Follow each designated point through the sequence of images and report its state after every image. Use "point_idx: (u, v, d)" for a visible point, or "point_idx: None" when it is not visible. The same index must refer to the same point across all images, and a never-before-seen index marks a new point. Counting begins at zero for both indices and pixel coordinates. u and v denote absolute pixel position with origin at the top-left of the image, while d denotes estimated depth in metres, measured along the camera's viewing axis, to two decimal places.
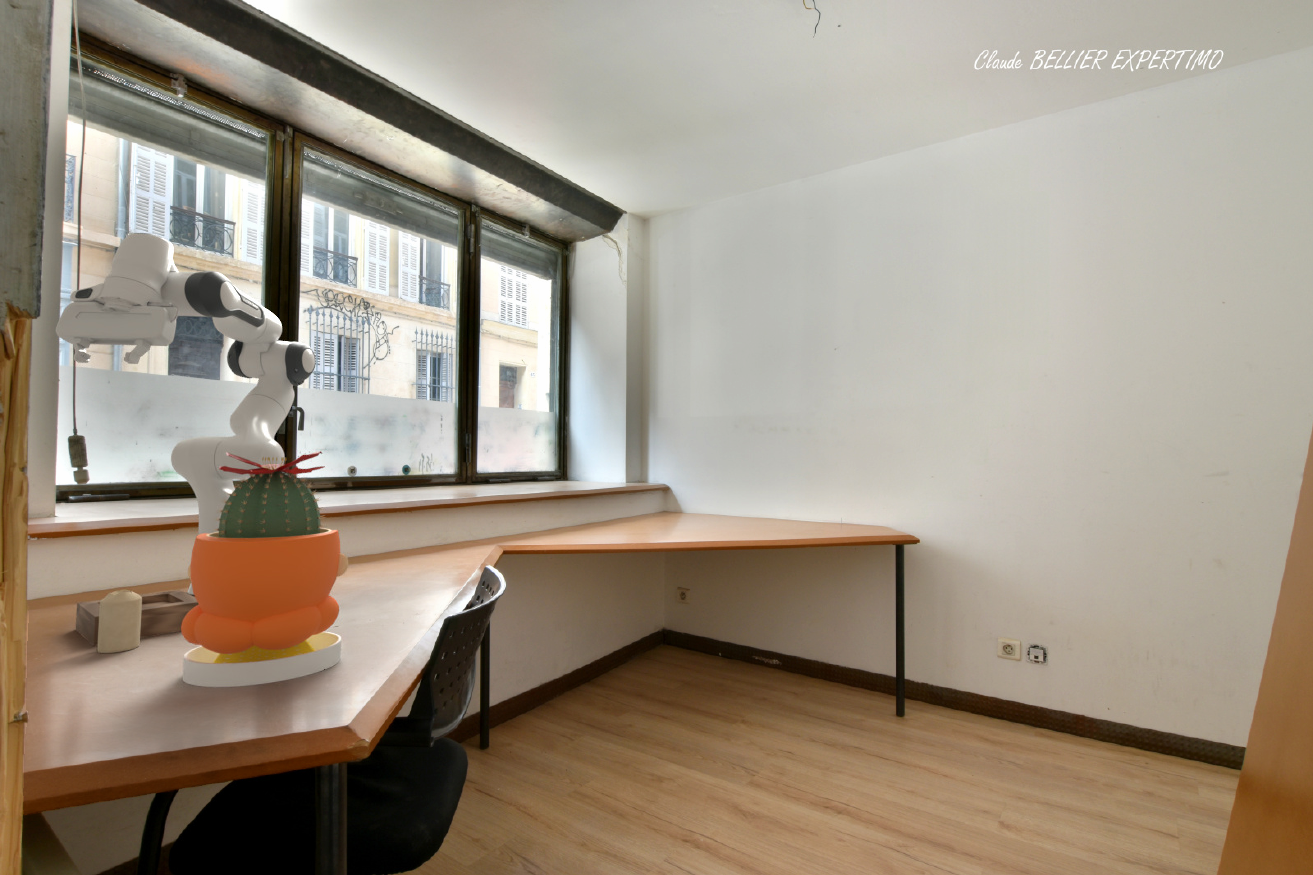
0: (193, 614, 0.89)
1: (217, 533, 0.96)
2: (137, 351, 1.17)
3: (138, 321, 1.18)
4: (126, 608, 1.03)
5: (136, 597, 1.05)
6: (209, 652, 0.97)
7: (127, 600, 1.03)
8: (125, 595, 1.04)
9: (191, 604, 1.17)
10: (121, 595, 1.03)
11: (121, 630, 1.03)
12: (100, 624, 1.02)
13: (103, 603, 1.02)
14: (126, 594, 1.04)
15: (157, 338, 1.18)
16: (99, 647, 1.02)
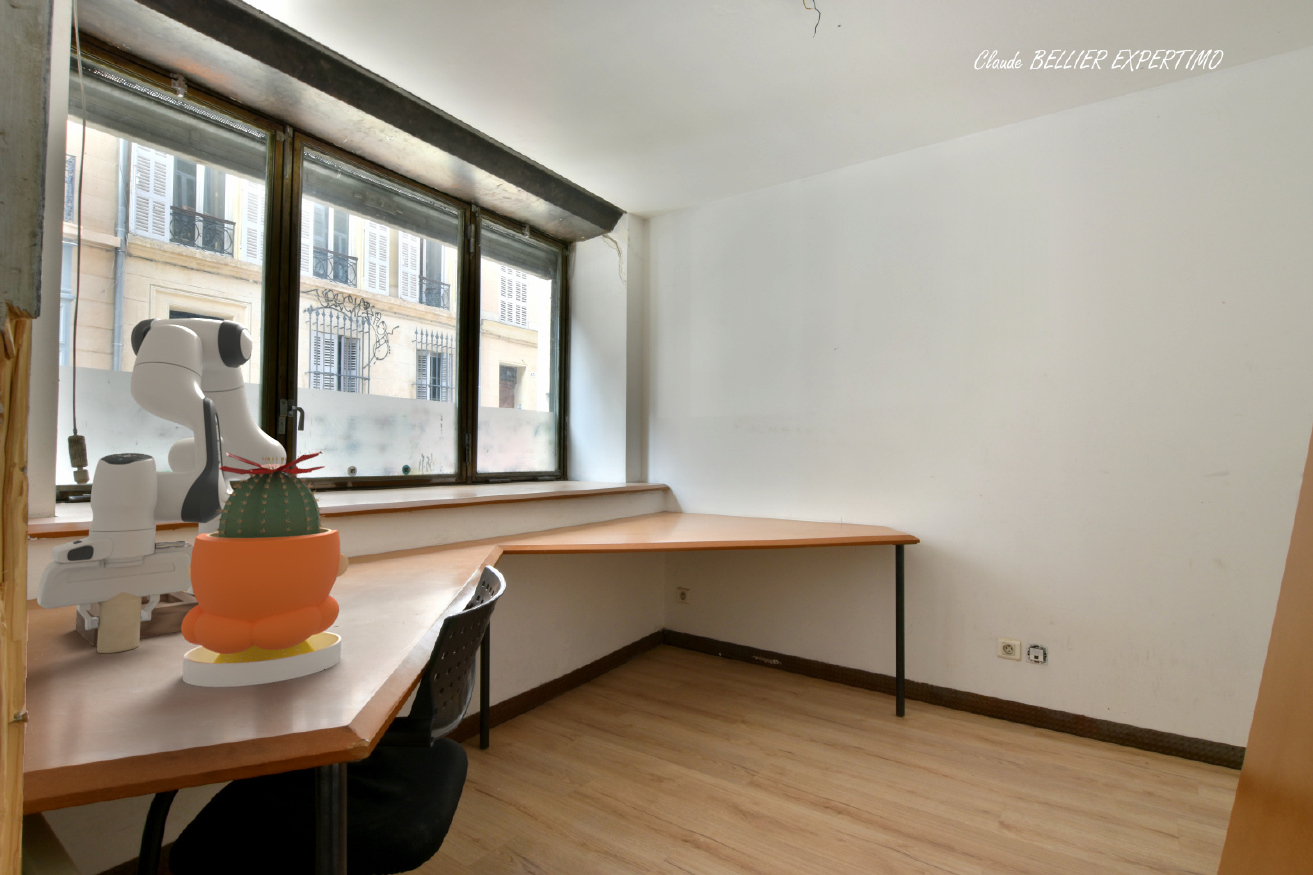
0: (193, 614, 0.89)
1: (217, 533, 0.96)
2: None
3: (160, 574, 1.08)
4: (126, 608, 1.03)
5: (136, 597, 1.05)
6: (209, 652, 0.97)
7: (127, 600, 1.03)
8: (125, 595, 1.04)
9: (191, 604, 1.17)
10: (121, 595, 1.03)
11: (121, 630, 1.03)
12: (100, 624, 1.02)
13: (102, 603, 1.02)
14: (126, 594, 1.04)
15: (187, 589, 1.12)
16: (99, 647, 1.02)
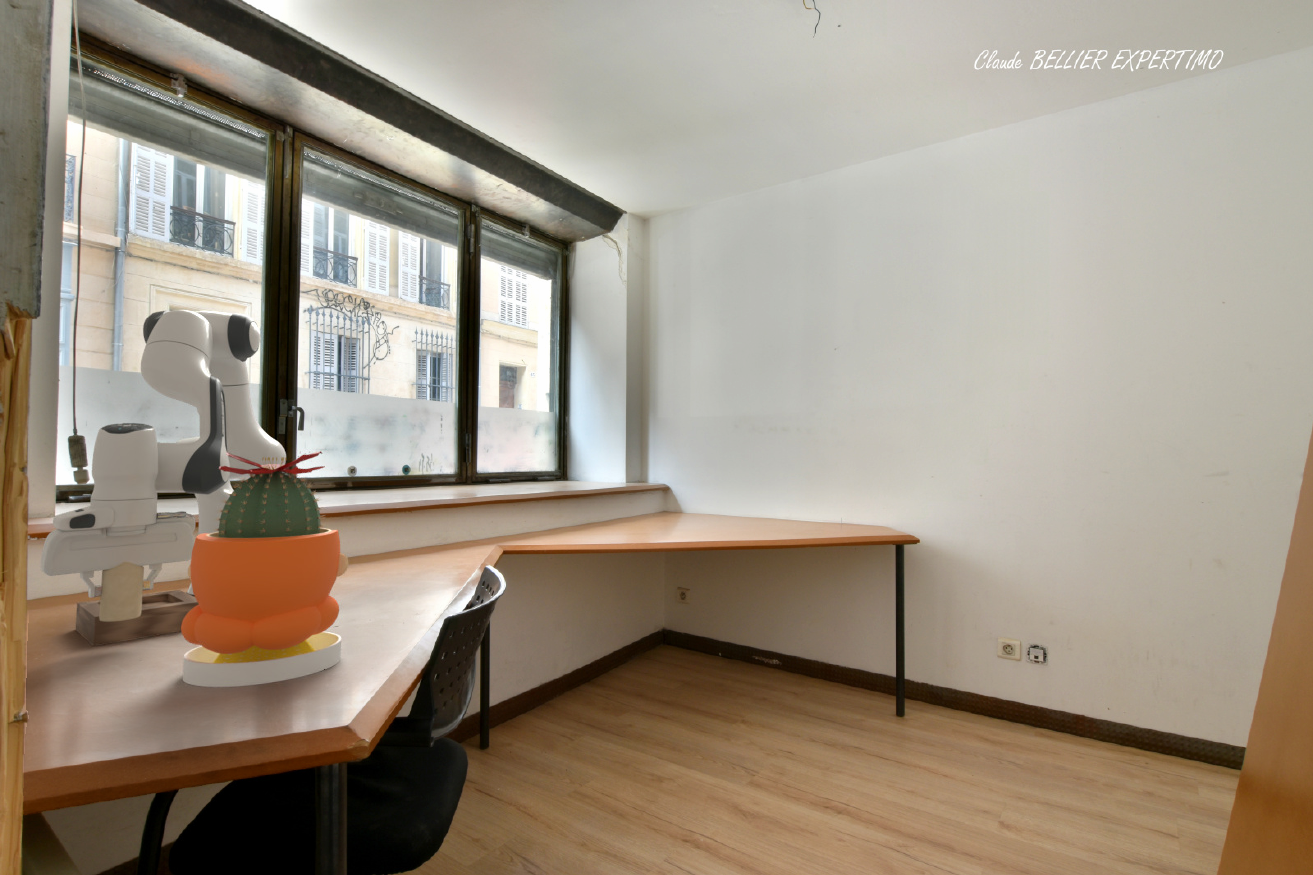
0: (193, 614, 0.89)
1: (217, 533, 0.96)
2: None
3: (162, 544, 1.08)
4: (128, 577, 1.04)
5: (138, 567, 1.06)
6: (209, 652, 0.97)
7: (129, 569, 1.04)
8: (127, 565, 1.04)
9: (191, 604, 1.17)
10: (123, 564, 1.04)
11: (123, 599, 1.03)
12: (102, 593, 1.03)
13: (105, 572, 1.03)
14: (128, 564, 1.05)
15: (189, 559, 1.12)
16: (101, 615, 1.03)
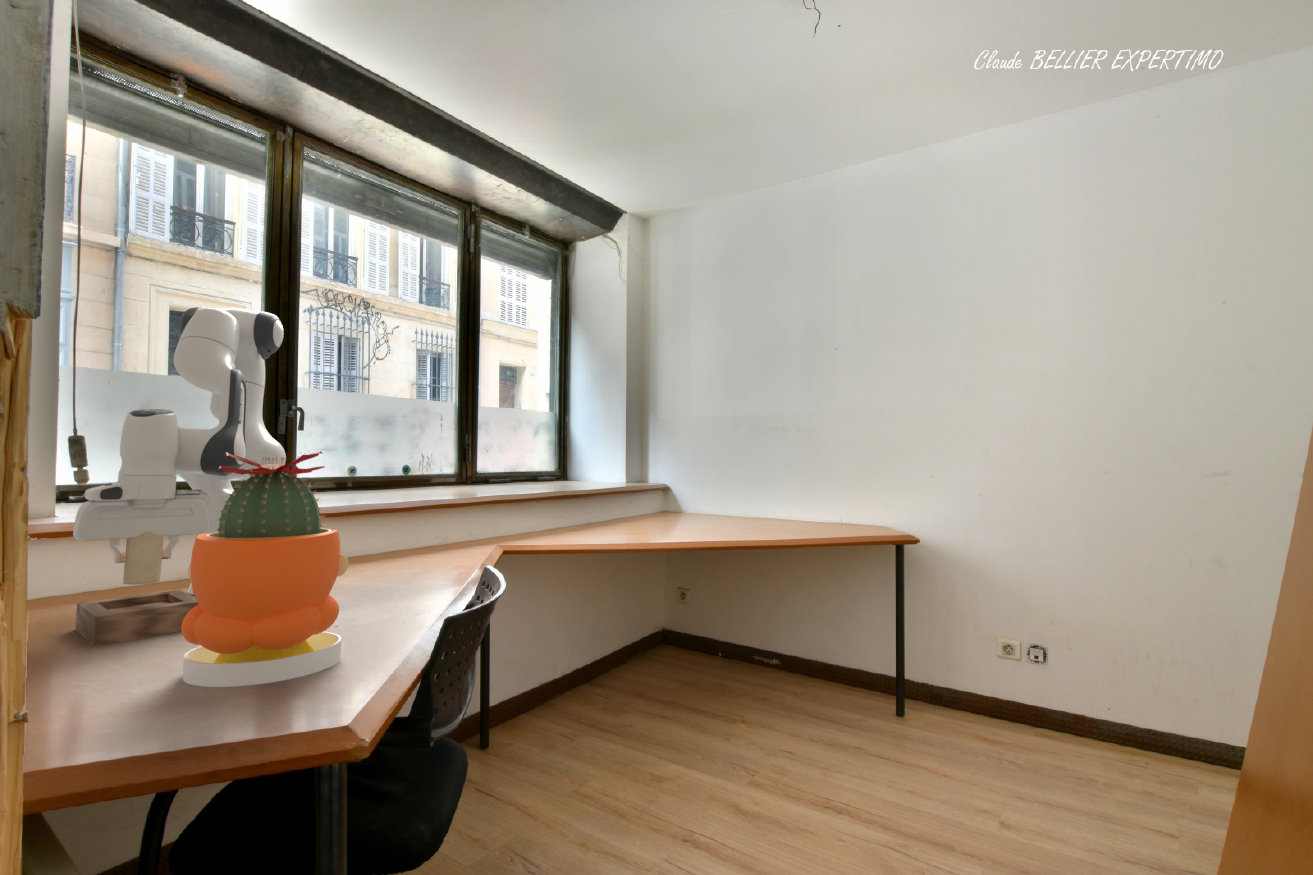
0: (193, 614, 0.89)
1: (217, 533, 0.96)
2: None
3: (179, 517, 1.21)
4: (149, 545, 1.16)
5: (159, 537, 1.18)
6: (209, 652, 0.97)
7: (151, 538, 1.16)
8: (149, 534, 1.16)
9: (191, 604, 1.17)
10: (145, 534, 1.16)
11: (145, 564, 1.15)
12: (126, 559, 1.15)
13: (129, 540, 1.15)
14: (150, 533, 1.17)
15: None
16: (125, 579, 1.14)
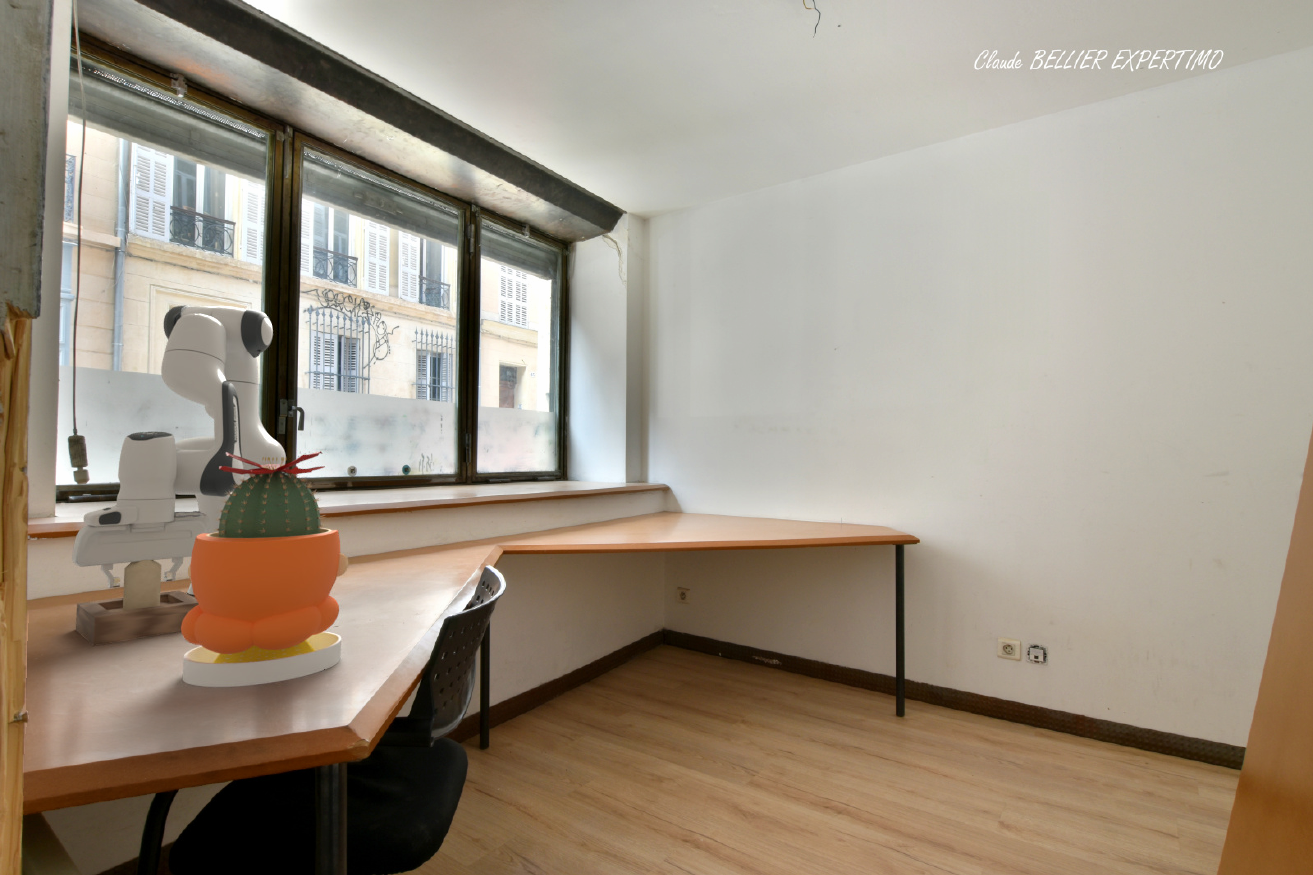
0: (193, 614, 0.89)
1: (217, 533, 0.96)
2: None
3: (179, 540, 1.21)
4: (148, 574, 1.16)
5: (156, 565, 1.18)
6: (209, 652, 0.97)
7: (148, 567, 1.16)
8: (146, 562, 1.16)
9: (191, 605, 1.17)
10: (143, 562, 1.16)
11: (143, 593, 1.15)
12: (125, 588, 1.15)
13: (127, 569, 1.15)
14: (147, 562, 1.16)
15: None
16: (124, 608, 1.14)
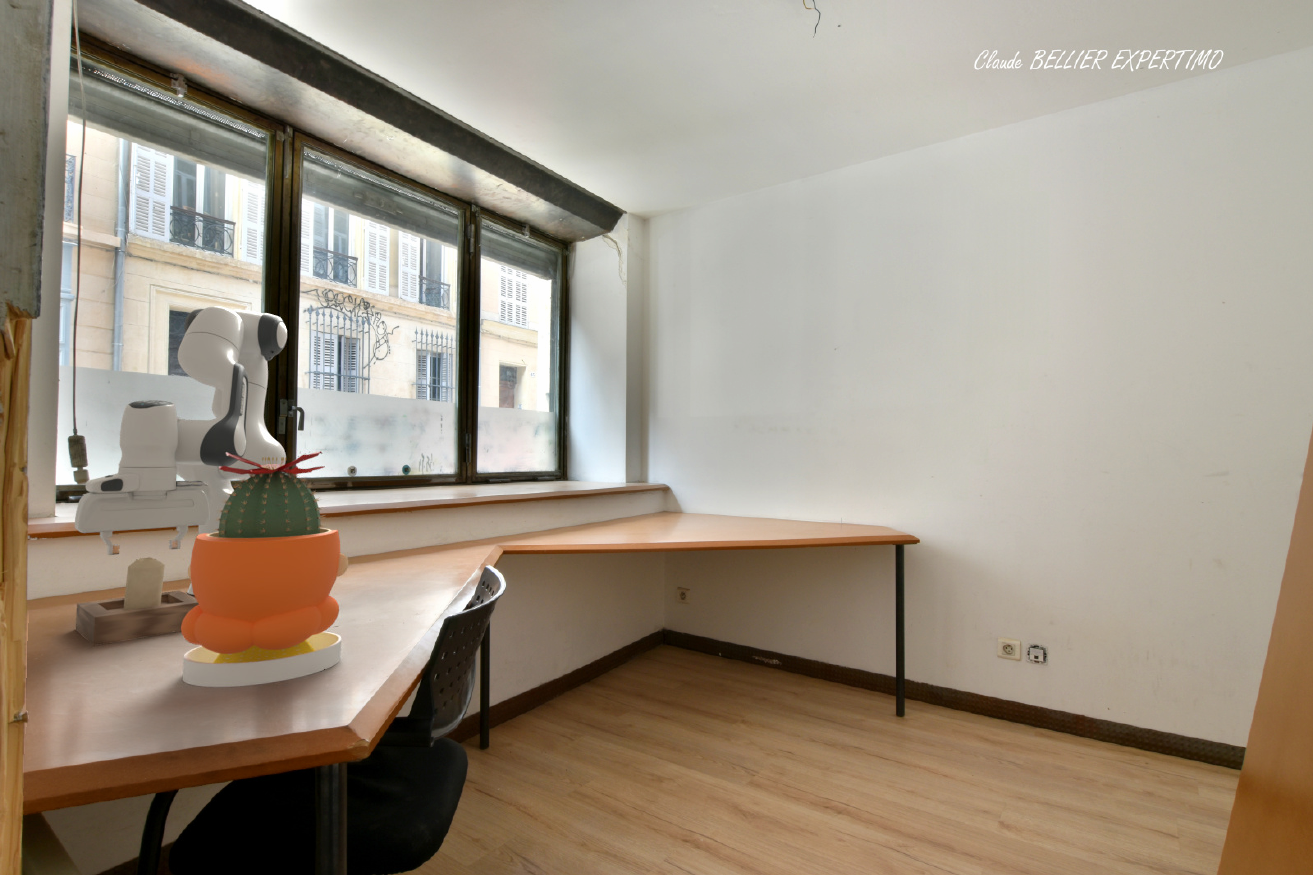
0: (193, 614, 0.89)
1: (217, 533, 0.96)
2: None
3: (180, 508, 1.21)
4: (151, 573, 1.16)
5: (160, 564, 1.18)
6: (209, 652, 0.97)
7: (152, 566, 1.16)
8: (151, 562, 1.17)
9: (191, 604, 1.17)
10: (147, 562, 1.16)
11: (146, 593, 1.16)
12: (127, 586, 1.15)
13: (131, 568, 1.15)
14: (151, 561, 1.17)
15: (205, 524, 1.25)
16: (125, 607, 1.15)
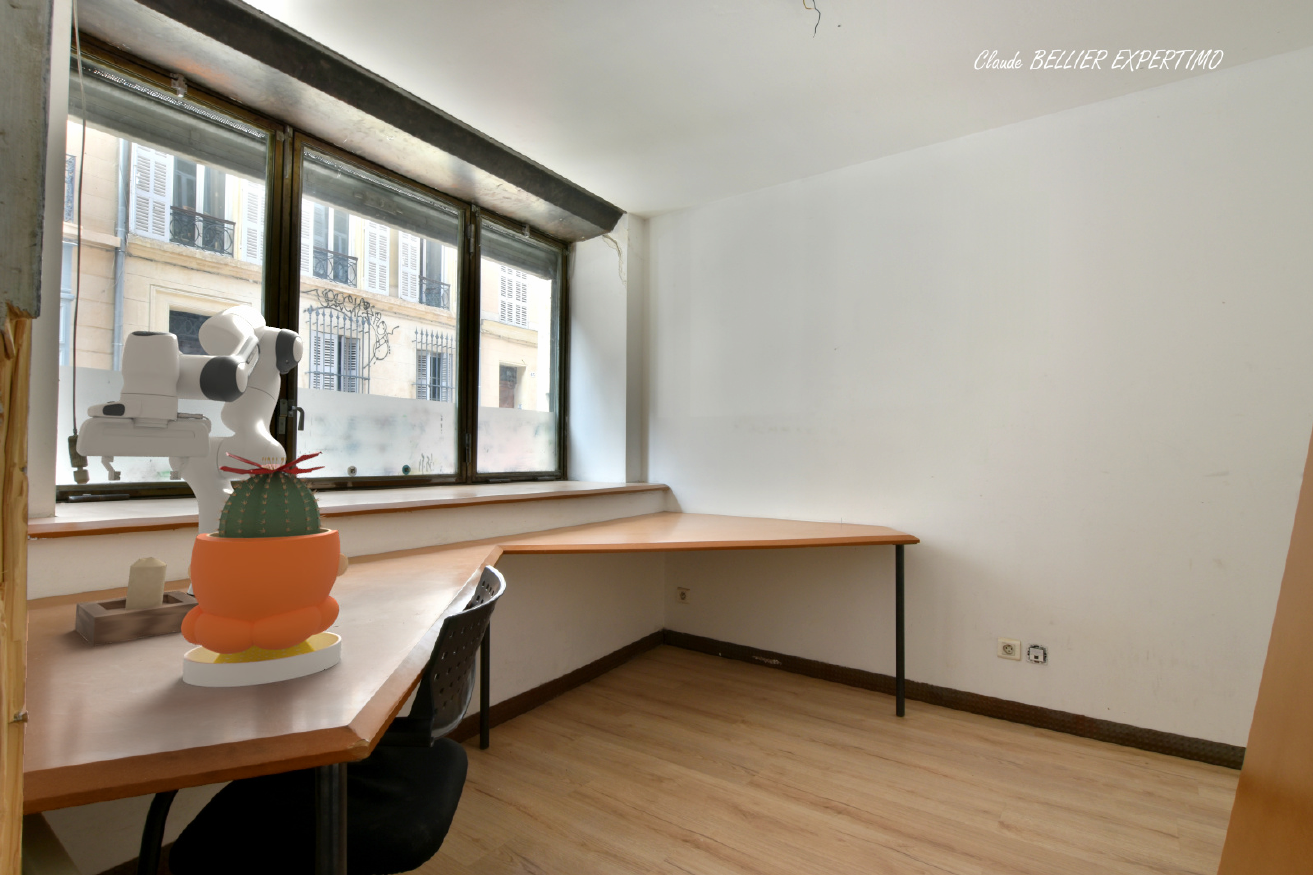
0: (193, 614, 0.89)
1: (217, 533, 0.96)
2: None
3: (181, 439, 1.22)
4: (155, 572, 1.17)
5: (163, 564, 1.19)
6: (209, 652, 0.97)
7: (156, 565, 1.17)
8: (154, 561, 1.17)
9: (191, 605, 1.17)
10: (150, 561, 1.17)
11: (149, 591, 1.16)
12: (130, 586, 1.15)
13: (134, 567, 1.16)
14: (155, 560, 1.18)
15: (205, 457, 1.25)
16: (128, 606, 1.15)
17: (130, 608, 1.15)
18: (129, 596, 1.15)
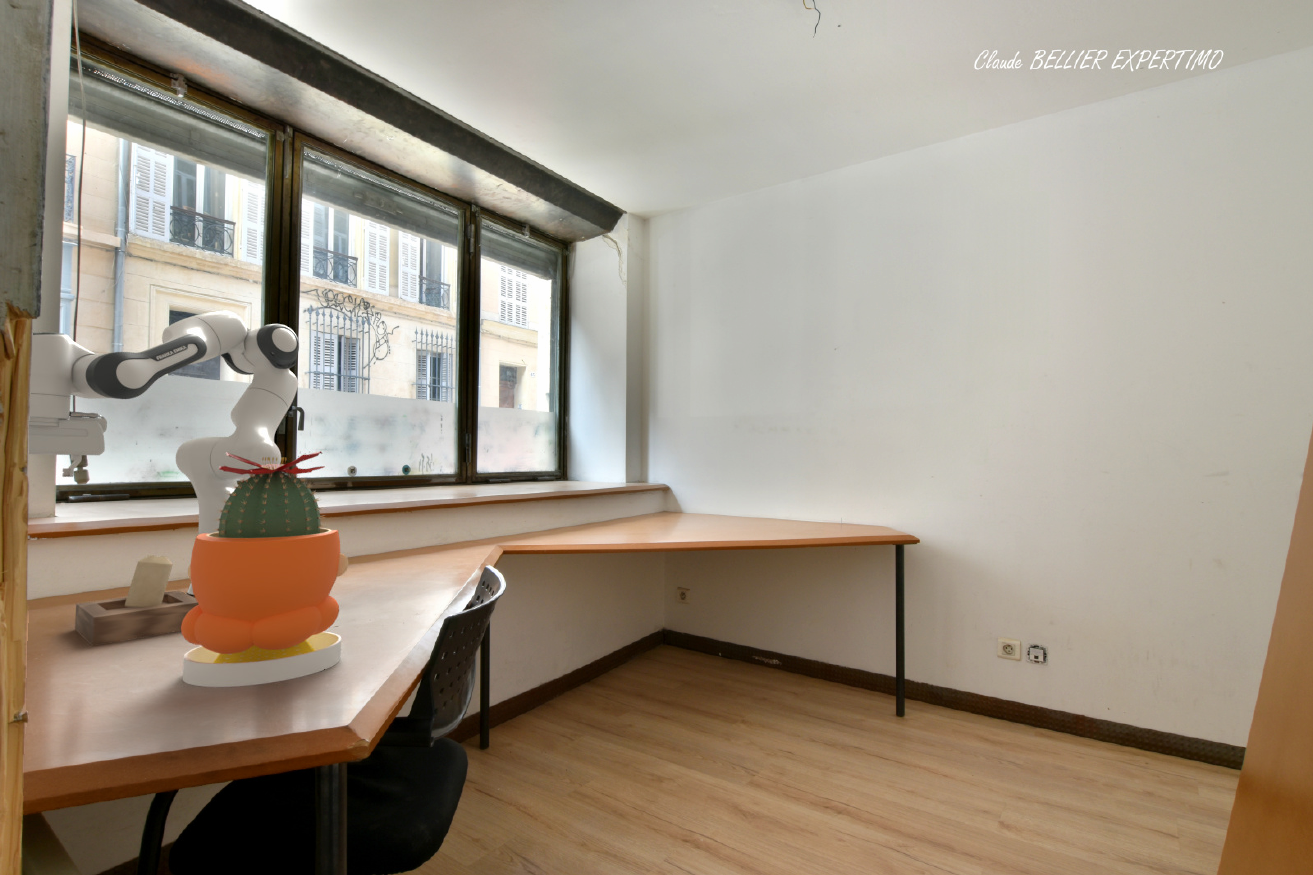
0: (193, 614, 0.89)
1: (217, 533, 0.96)
2: None
3: (73, 437, 1.25)
4: (168, 570, 1.19)
5: None
6: (209, 652, 0.97)
7: (170, 563, 1.20)
8: (167, 559, 1.20)
9: (190, 605, 1.17)
10: (164, 558, 1.19)
11: (161, 588, 1.18)
12: (142, 581, 1.16)
13: (150, 563, 1.17)
14: (167, 558, 1.20)
15: (99, 454, 1.29)
16: (136, 602, 1.15)
17: (139, 604, 1.15)
18: (139, 592, 1.15)
